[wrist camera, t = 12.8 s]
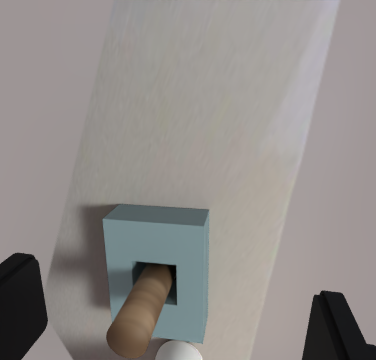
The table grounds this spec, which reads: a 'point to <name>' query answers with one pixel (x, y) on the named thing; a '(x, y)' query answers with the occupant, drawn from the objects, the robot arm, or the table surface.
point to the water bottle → (178, 351)
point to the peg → (141, 311)
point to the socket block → (164, 254)
